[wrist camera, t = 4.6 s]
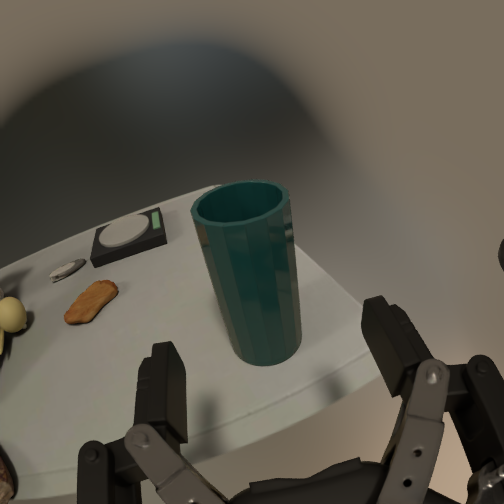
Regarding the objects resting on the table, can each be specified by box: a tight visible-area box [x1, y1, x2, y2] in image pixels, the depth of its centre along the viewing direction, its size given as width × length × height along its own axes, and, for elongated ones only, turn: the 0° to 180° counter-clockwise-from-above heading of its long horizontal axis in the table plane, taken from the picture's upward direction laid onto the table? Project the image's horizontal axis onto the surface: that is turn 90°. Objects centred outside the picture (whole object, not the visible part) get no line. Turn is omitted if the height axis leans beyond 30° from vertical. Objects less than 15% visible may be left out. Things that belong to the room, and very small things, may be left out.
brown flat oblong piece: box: [64, 280, 118, 324], centre depth 33 cm, size 8×2×5 cm
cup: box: [190, 180, 302, 366], centre depth 23 cm, size 6×6×13 cm
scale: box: [90, 207, 167, 268], centre depth 44 cm, size 11×9×2 cm
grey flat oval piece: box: [49, 259, 86, 282], centre depth 40 cm, size 6×2×1 cm, turn 131°
